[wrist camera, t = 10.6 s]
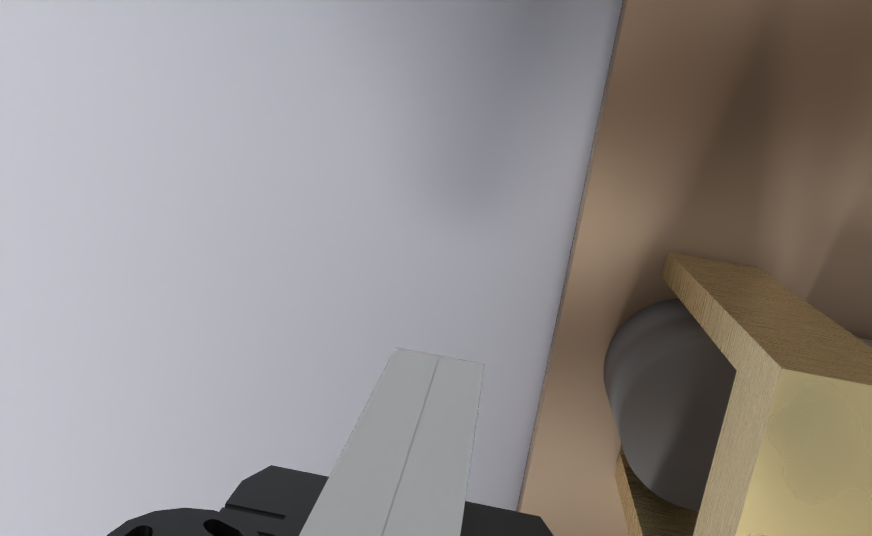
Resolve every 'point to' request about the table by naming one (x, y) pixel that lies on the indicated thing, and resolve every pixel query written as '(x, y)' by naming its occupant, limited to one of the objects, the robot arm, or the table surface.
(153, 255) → the table surface
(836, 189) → the board
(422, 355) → the robot arm
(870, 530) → the brushed brass block
